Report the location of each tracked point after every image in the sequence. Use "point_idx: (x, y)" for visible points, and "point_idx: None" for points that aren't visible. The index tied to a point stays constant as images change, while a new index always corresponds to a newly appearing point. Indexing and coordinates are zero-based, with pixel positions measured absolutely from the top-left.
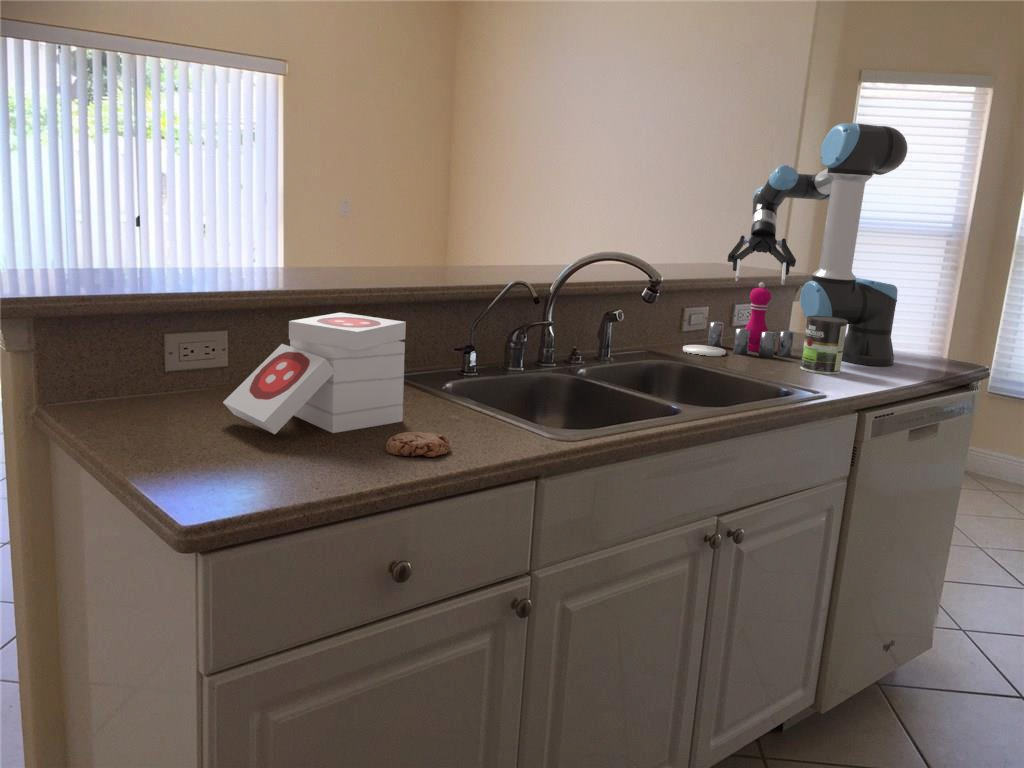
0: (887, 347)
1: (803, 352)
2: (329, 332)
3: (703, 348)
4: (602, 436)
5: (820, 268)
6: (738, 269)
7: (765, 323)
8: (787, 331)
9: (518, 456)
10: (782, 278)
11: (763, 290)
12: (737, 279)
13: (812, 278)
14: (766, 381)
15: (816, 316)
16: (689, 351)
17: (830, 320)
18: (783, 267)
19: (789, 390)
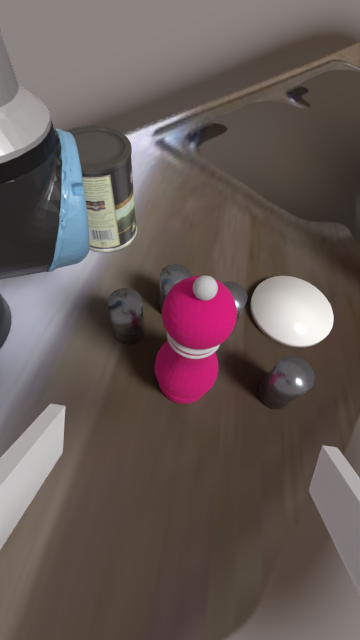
0: None
1: (134, 208)
2: None
3: (294, 310)
4: (321, 64)
5: (18, 89)
6: (352, 483)
7: (168, 342)
8: (122, 306)
9: (348, 49)
10: (59, 421)
11: (198, 277)
12: (316, 477)
13: (52, 143)
14: (205, 168)
15: (101, 165)
16: (314, 289)
17: (91, 138)
18: (8, 473)
19: (187, 144)
